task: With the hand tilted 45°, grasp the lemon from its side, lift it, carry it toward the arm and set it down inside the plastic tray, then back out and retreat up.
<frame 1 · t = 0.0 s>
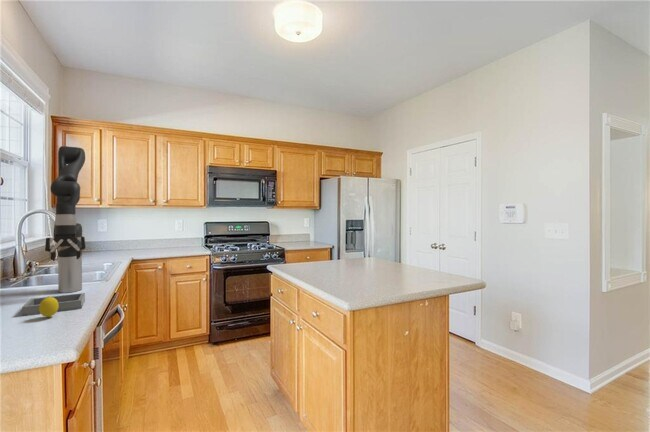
hand: (65, 259, 147), 17 cm above the countertop, tool pointing down, fingers open, 8 cm apart
lemon: (49, 318, 121), on the countertop
tray: (56, 307, 132), on the countertop
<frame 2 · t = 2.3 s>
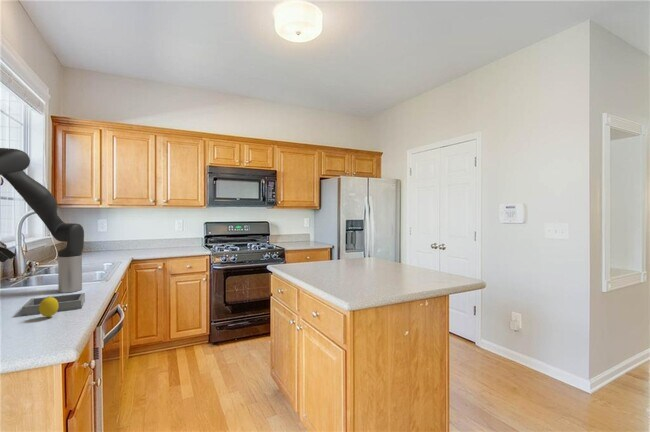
hand: (9, 258, 114), 23 cm above the countertop, tool tilted 45°, fingers open, 8 cm apart
nothing on the countertop moved.
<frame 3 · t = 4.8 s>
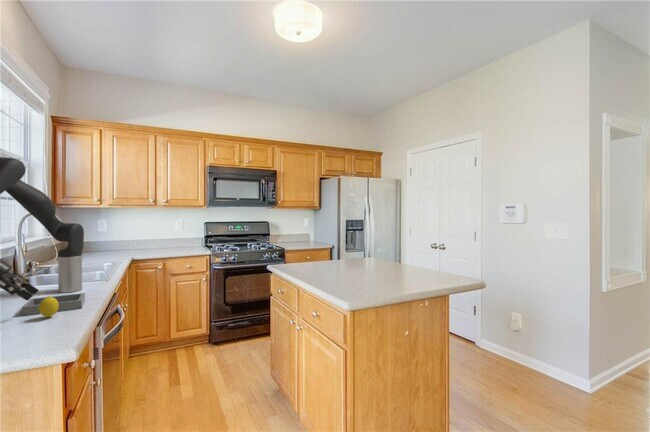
hand: (33, 295, 118), 9 cm above the countertop, tool tilted 45°, fingers open, 8 cm apart
nothing on the countertop moved.
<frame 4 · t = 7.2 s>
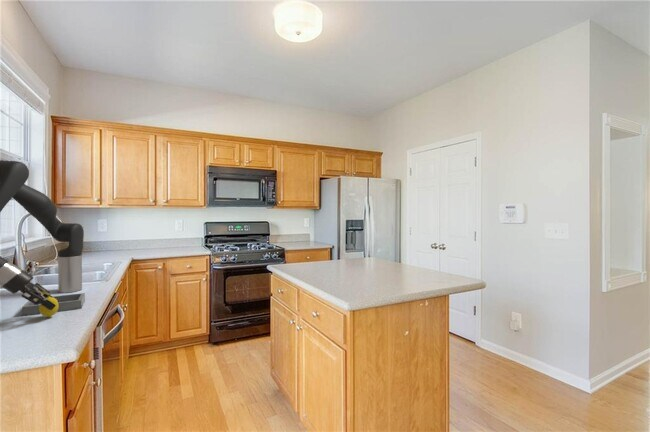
hand: (55, 305, 121), 4 cm above the countertop, tool tilted 45°, fingers closed on lemon, 5 cm apart
lemon: (49, 318, 121), on the countertop, touching gripper
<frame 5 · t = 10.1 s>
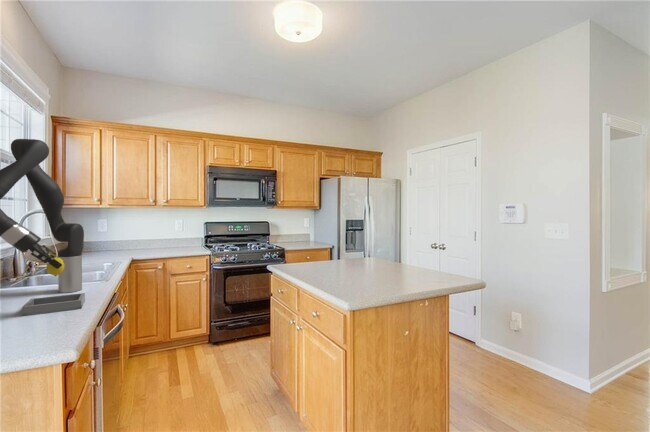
hand: (61, 265, 131), 18 cm above the countertop, tool tilted 45°, fingers closed on lemon, 5 cm apart
lemon: (55, 276, 130), point 13 cm above the countertop, touching gripper
when the fingers open (7 cm above the countertop, at t = 13.4 s): lemon drops 1 cm, resting on tray.
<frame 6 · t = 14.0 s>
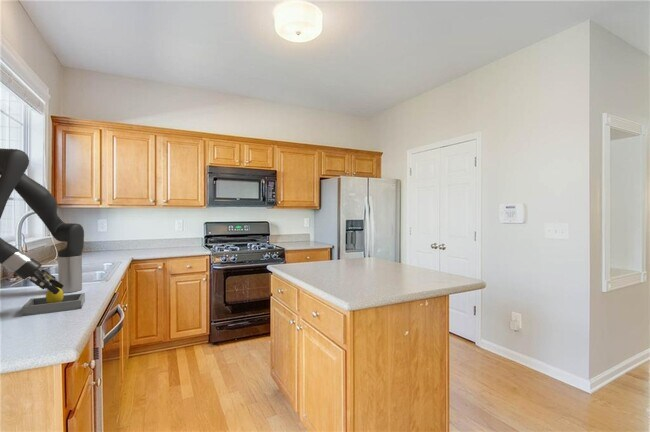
hand: (59, 290, 133), 7 cm above the countertop, tool tilted 45°, fingers open, 8 cm apart
lemon: (55, 306, 132), point 1 cm above the countertop, touching tray
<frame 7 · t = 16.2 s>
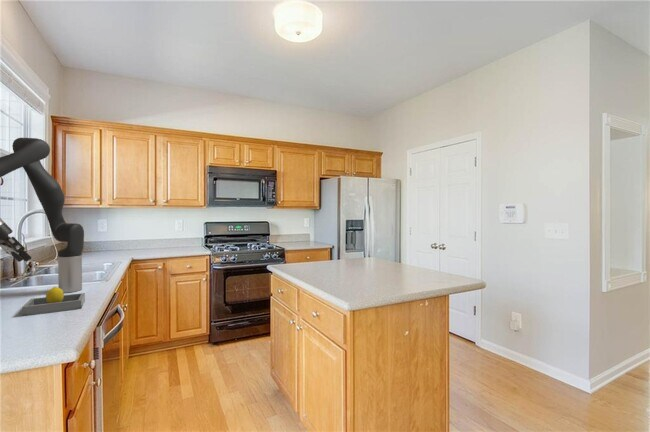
hand: (25, 260, 128), 20 cm above the countertop, tool tilted 35°, fingers open, 8 cm apart
nothing on the countertop moved.
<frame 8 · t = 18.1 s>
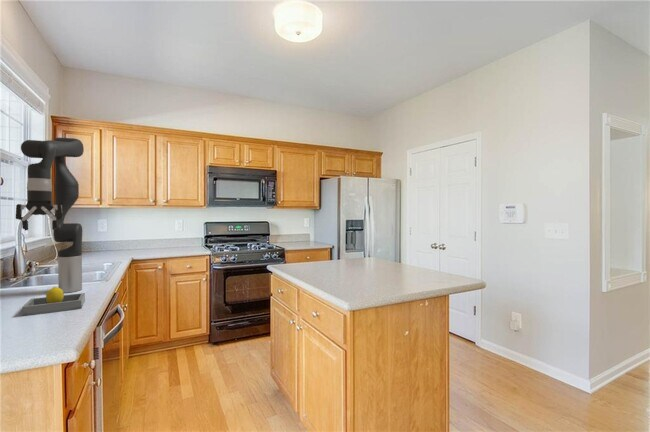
hand: (40, 229, 131), 32 cm above the countertop, tool pointing down, fingers open, 8 cm apart
nothing on the countertop moved.
at the end: lemon inside the target area on the tray (0.4 cm from its centre), point 0.6 cm above the tray's base; lemon touching tray; the gripper is holding nothing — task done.
